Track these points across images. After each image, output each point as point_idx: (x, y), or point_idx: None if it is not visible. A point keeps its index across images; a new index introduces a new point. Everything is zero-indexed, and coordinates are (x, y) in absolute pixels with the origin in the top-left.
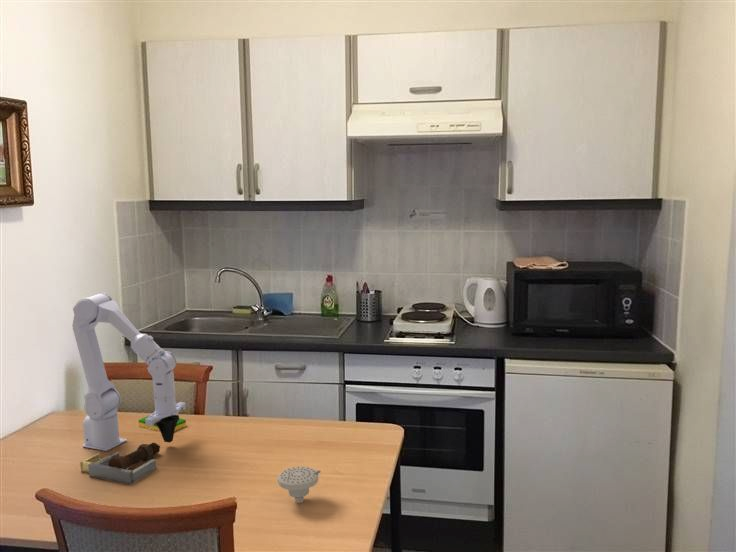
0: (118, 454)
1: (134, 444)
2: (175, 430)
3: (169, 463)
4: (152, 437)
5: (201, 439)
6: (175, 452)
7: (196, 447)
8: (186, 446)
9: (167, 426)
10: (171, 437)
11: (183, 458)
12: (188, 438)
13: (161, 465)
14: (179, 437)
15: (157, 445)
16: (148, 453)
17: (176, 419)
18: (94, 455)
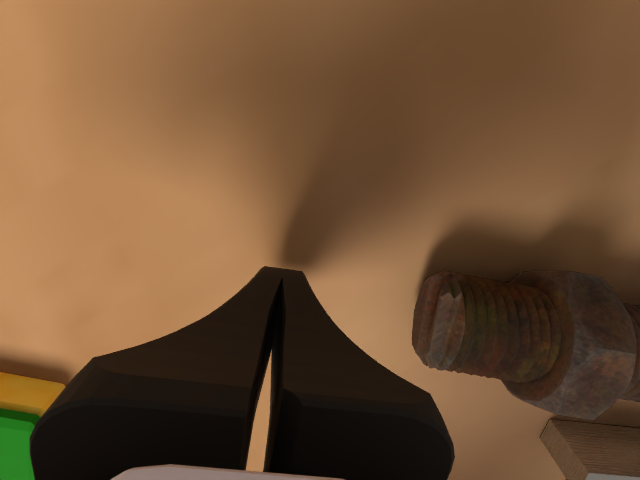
0: (593, 468)
1: None
2: (6, 376)
3: (604, 84)
4: None
5: (44, 65)
6: (377, 159)
7: (234, 8)
8: (240, 129)
9: (395, 380)
10: (285, 280)
11: (501, 2)
12: (82, 206)
13: (636, 134)
14: (97, 287)
15: (474, 306)
16: (615, 296)
17: (188, 374)
18: None
